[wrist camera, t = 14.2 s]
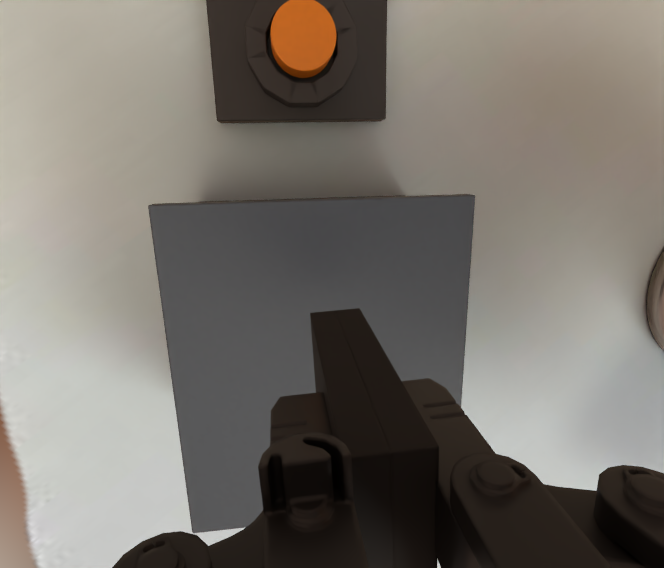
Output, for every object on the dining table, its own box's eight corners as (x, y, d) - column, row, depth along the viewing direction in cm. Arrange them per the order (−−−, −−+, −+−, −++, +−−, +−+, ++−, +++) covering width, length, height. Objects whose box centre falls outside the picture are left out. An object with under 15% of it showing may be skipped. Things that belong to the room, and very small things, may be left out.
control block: (208, -15, 26) (197, -41, 23) (381, -11, 28) (396, -35, 24) (219, 123, 29) (212, 117, 25) (380, 121, 30) (393, 115, 26)
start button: (269, 9, 24) (268, -4, 23) (331, 10, 25) (335, -3, 23) (272, 78, 25) (272, 71, 24) (332, 78, 26) (337, 71, 24)
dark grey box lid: (152, 203, 19) (147, 205, 18) (468, 193, 21) (475, 195, 20) (195, 522, 24) (192, 533, 23) (449, 494, 26) (454, 504, 25)
